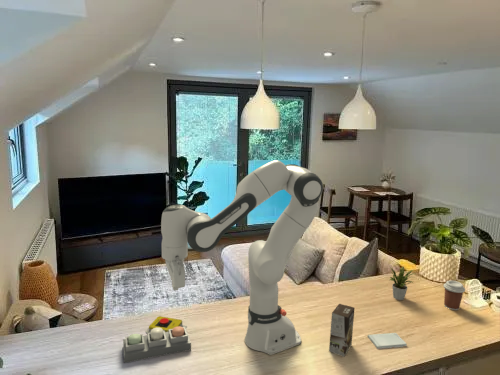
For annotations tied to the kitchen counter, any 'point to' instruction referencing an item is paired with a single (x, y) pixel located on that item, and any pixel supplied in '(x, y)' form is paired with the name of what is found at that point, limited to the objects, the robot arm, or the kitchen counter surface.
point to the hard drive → (386, 340)
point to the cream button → (156, 334)
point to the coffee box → (341, 329)
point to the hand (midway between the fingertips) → (175, 288)
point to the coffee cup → (453, 294)
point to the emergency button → (165, 324)
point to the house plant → (400, 284)
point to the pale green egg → (134, 339)
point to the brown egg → (177, 331)
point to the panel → (156, 346)
